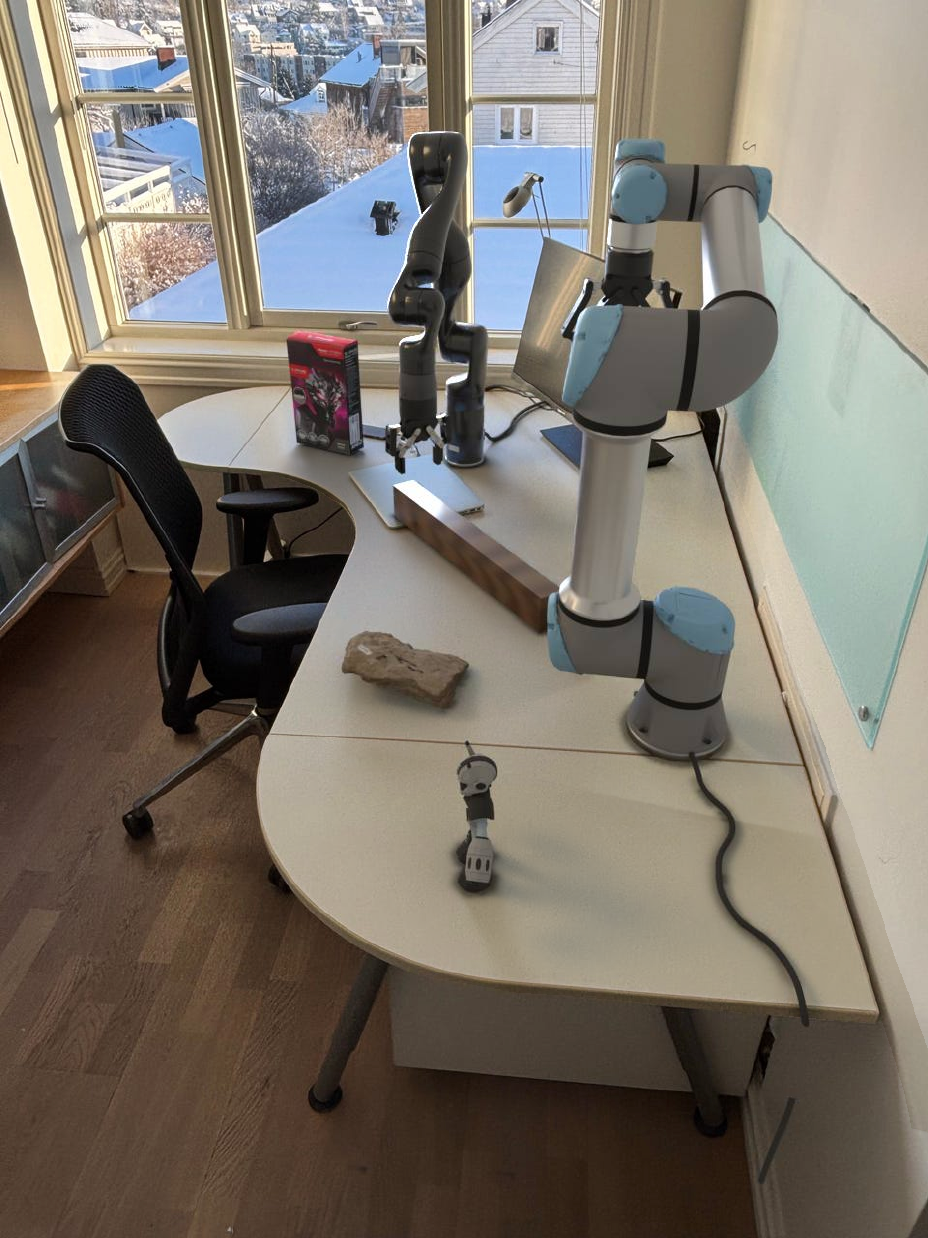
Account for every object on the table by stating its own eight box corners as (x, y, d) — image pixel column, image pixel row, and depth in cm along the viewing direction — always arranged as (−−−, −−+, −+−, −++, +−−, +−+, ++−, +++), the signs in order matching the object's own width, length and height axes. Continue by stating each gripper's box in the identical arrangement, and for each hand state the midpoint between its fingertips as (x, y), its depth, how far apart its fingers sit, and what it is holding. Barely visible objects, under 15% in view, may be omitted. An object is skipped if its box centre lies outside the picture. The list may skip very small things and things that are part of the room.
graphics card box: (294, 443, 234) (283, 336, 218) (310, 434, 239) (300, 328, 224) (350, 457, 227) (343, 347, 212) (366, 447, 232) (360, 339, 217)
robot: (499, 928, 112) (505, 811, 101) (459, 930, 112) (460, 812, 101) (488, 811, 128) (491, 699, 117) (453, 812, 128) (453, 700, 117)
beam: (561, 625, 167) (564, 590, 163) (539, 633, 165) (541, 598, 161) (413, 510, 204) (413, 479, 200) (394, 515, 202) (392, 485, 198)
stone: (317, 681, 147) (323, 648, 145) (352, 647, 161) (358, 617, 158) (439, 725, 144) (448, 692, 141) (465, 687, 157) (473, 656, 155)
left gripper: (438, 380, 187) (439, 454, 196) (376, 392, 181) (380, 469, 190) (458, 391, 182) (458, 467, 191) (395, 404, 176) (398, 482, 185)
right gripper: (702, 243, 150) (684, 371, 162) (550, 242, 150) (542, 371, 161) (714, 253, 144) (694, 386, 156) (555, 252, 143) (547, 385, 155)
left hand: (419, 468), depth 190 cm, fingers open, 8 cm apart
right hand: (617, 378), depth 158 cm, fingers open, 13 cm apart
